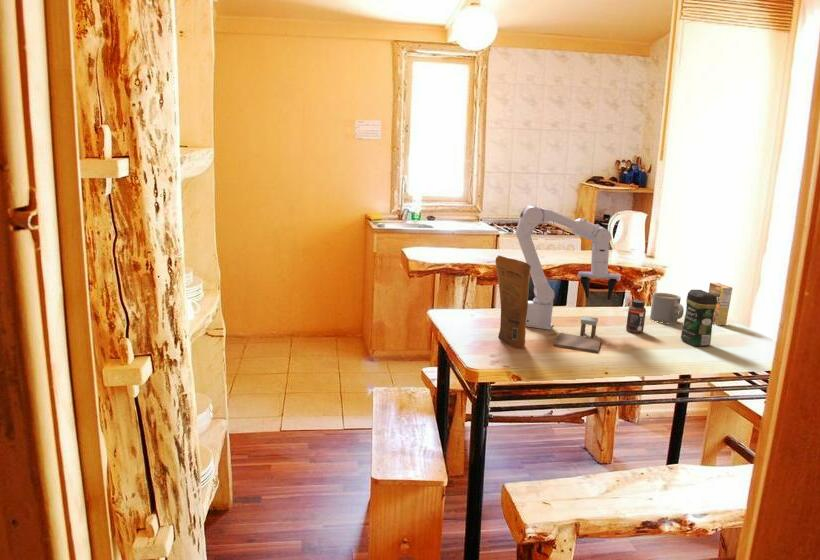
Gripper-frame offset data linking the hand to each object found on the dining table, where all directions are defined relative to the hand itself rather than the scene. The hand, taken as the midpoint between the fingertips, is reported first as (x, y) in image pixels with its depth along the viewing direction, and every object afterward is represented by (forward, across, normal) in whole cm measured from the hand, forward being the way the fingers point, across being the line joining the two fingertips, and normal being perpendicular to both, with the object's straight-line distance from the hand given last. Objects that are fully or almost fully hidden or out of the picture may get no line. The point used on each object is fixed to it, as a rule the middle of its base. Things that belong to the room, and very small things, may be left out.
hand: (598, 298), depth 219 cm
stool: (+11, +1, +9) cm, 15 cm away
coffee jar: (+14, -32, -6) cm, 36 cm away
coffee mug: (+14, -20, -31) cm, 39 cm away
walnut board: (+11, +2, +22) cm, 24 cm away
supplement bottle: (+13, -12, -7) cm, 19 cm away
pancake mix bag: (+10, +21, +34) cm, 41 cm away
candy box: (+16, -36, -42) cm, 58 cm away
